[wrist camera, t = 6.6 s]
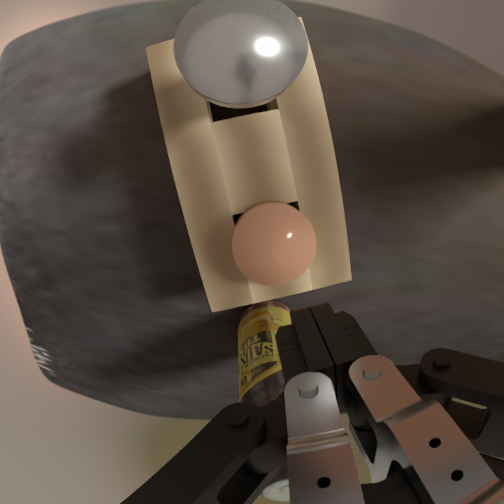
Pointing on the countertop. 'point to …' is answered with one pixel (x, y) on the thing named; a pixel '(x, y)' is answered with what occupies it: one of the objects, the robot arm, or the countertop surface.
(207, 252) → the beech block
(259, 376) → the sauce bottle
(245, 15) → the grey peg
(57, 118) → the countertop surface
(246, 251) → the terracotta peg
